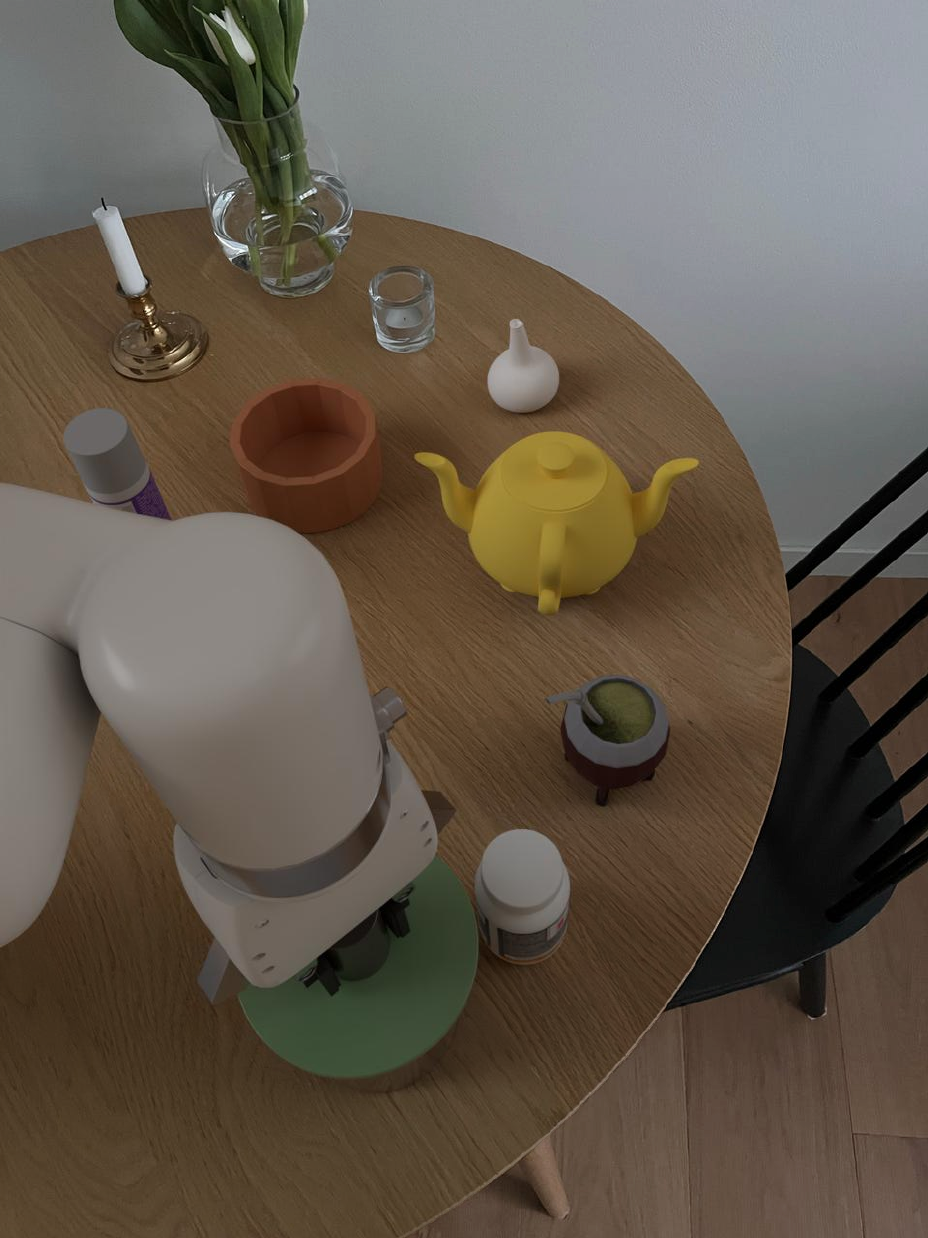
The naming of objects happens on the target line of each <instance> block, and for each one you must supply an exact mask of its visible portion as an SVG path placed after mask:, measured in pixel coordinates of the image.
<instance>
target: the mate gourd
mask: <svg viewBox="0 0 928 1238" xmlns="http://www.w3.org/2000/svg"><path fill="white" fill-rule="evenodd" d="M544 701H545V702H546V703H547V704H548V705H555V704H559V703H563V702H567V701H568V702H567V704H566V705H565V709H564V712H563V716H562V720H561V724H560V728H559V731H560V737H561V742H562V747H563V751H564V752H563V753H564V760H565V761H566V762H569V763H570V765H571V766H572V767H573V769H574V770H575V772H576V773H577V774H578V775H579V776H580V777H582V778H583V779H584V780H586V781H587V782H589V783H590V784H591V785H593V786H594V787H596V788H597V791H596V795H595V801H594V802H595V805H597V806H600V807H606V806H607V804H608V801H609V796H610V792H611V790H612V791H614V790H619V789H625V788H630V787H633V786H634V785H636V784H638V783H640V782H641V781H643V780H647V781H653V779H654V777H655V776H656V769H657V768H658V766H660V764H661V763H662V762H663V761H664V759H665V757H666V755H667V751H668V746H669V742H670V741H669V740H670V735H671V727H670V721H669V717H668V713H667V710H666V706H665V705H666V704H665V703H664V702H663V701H662V699H661V698H660V697H659V696H658V694H657V693H656V692H655V690H654V689H653V688H652V687H650V686H648V685H647V684H645V683H644V682H642V681H640V680H639V679H637V678H635V677H632V676H626V675H621V674H611V675H603V676H597V677H595V678H594V679H591V680H590V681H588V682H586V683H584V684H582V685H580V686H579V687H578V688H577V689H574V690H567V691H563V692H560V693H557V694H554V695H550V696H546V697H544Z"/></svg>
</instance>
